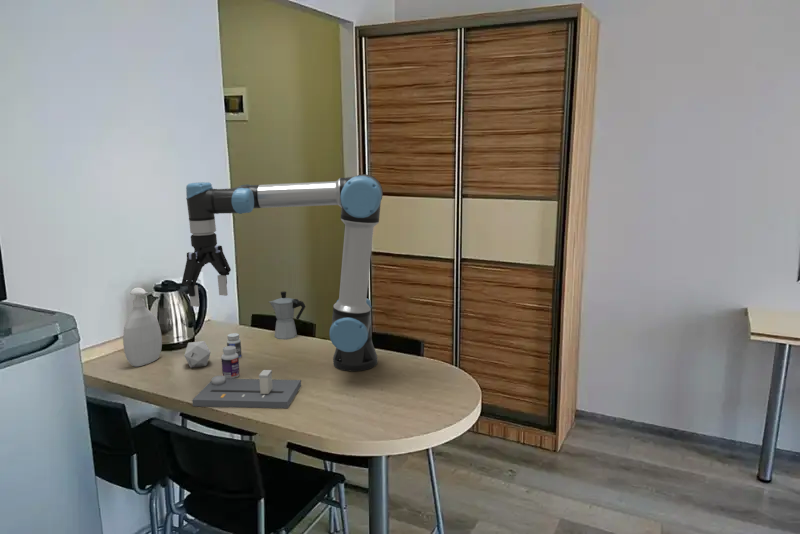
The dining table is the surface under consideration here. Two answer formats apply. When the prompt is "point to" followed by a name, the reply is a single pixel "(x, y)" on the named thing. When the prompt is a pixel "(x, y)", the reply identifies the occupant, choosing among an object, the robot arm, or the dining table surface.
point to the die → (197, 354)
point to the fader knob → (265, 381)
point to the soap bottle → (141, 333)
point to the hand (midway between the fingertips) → (209, 300)
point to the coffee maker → (286, 316)
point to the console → (246, 393)
